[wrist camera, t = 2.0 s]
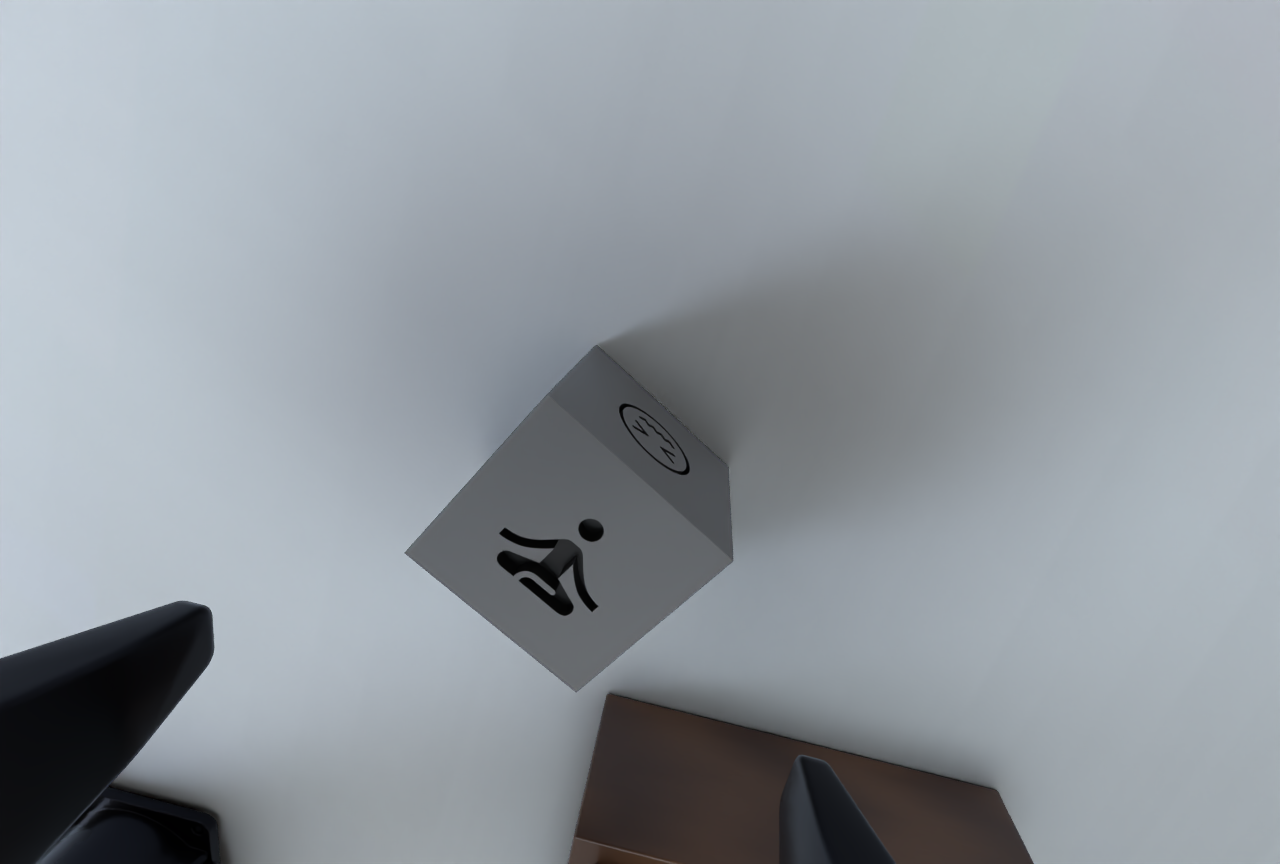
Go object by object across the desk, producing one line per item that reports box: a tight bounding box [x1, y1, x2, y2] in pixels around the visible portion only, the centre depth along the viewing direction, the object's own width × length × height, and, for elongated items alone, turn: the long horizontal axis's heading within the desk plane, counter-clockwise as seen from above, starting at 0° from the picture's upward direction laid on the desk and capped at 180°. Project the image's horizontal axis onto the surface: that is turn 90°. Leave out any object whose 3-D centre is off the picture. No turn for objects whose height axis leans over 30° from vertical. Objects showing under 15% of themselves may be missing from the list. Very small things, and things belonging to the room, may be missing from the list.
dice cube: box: [405, 345, 733, 692], centre depth 15 cm, size 5×5×5 cm
